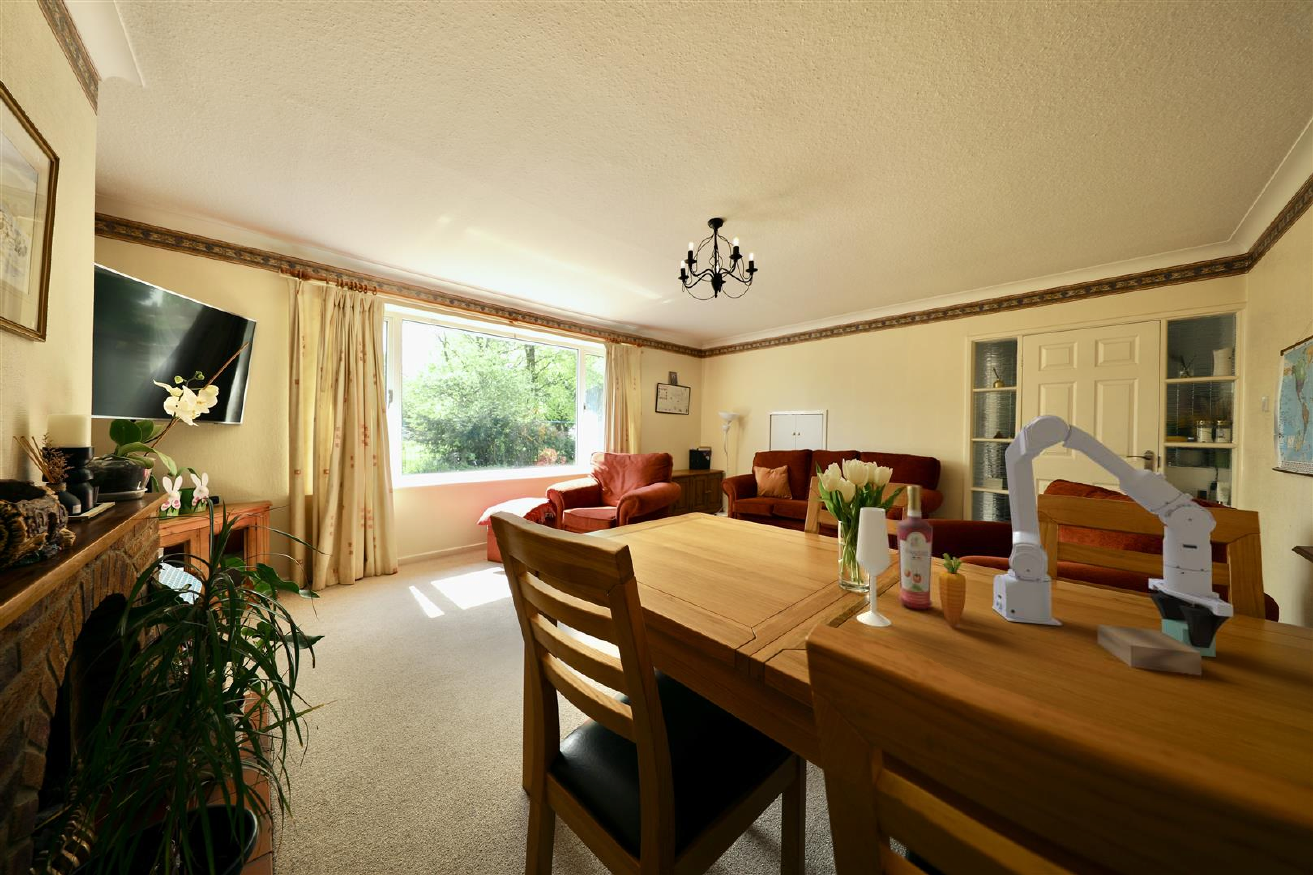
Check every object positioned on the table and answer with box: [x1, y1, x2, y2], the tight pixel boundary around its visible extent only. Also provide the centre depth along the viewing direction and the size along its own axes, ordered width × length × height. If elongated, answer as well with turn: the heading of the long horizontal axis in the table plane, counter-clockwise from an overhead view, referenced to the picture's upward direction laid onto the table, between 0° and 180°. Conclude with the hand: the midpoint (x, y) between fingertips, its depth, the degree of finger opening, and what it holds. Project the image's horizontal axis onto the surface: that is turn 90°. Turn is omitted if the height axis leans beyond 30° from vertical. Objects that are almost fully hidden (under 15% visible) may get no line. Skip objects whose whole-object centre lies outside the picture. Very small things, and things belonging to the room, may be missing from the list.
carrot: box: [938, 553, 967, 629], centre depth 91 cm, size 5×5×15 cm
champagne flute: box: [855, 506, 892, 628], centre depth 95 cm, size 7×7×24 cm
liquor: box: [896, 485, 934, 611], centre depth 103 cm, size 7×7×28 cm
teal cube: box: [1161, 618, 1216, 658], centre depth 81 cm, size 4×4×4 cm
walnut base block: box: [1097, 624, 1203, 676], centre depth 78 cm, size 9×9×4 cm
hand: (1187, 640), depth 81 cm, fingers closed on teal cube, 4 cm apart
